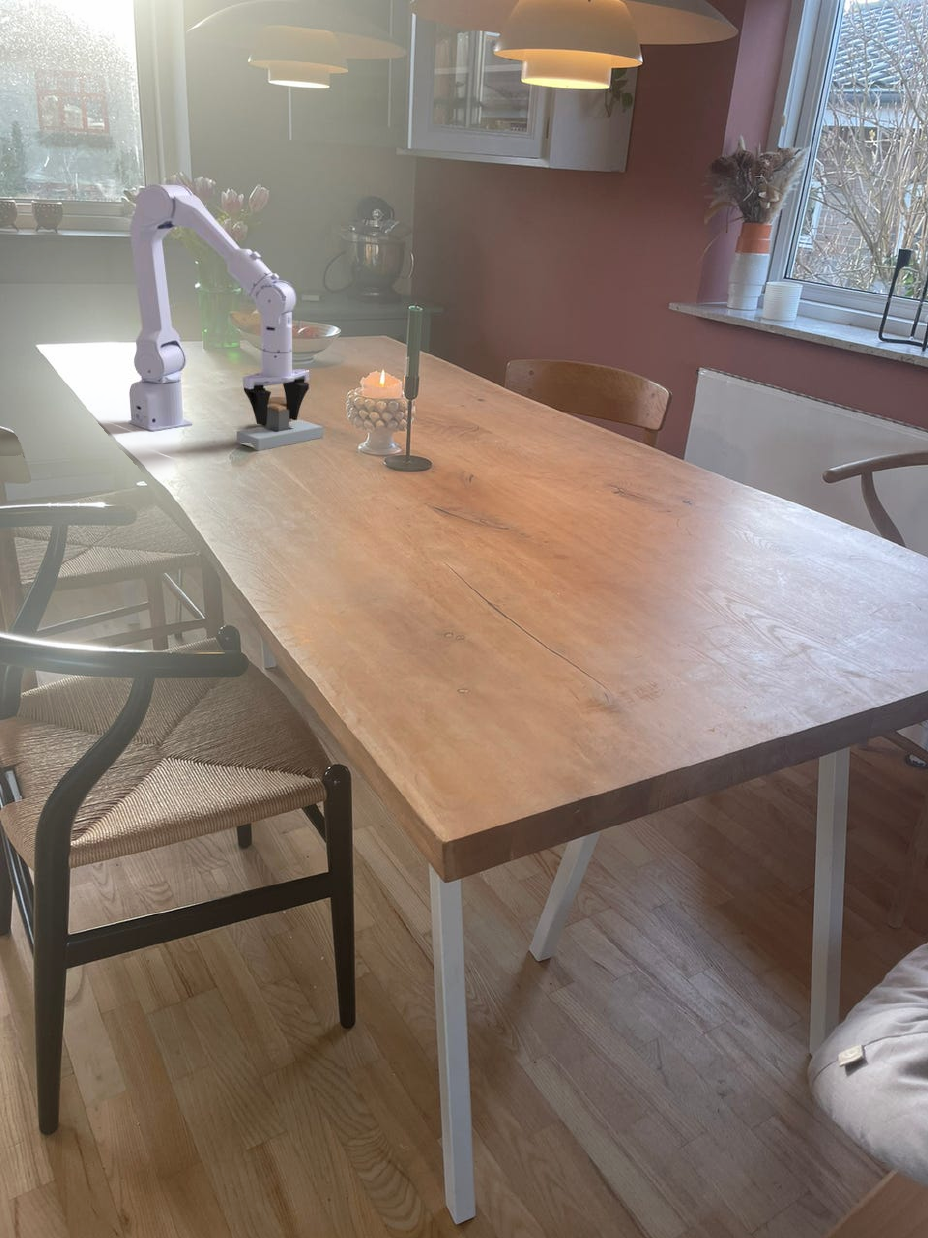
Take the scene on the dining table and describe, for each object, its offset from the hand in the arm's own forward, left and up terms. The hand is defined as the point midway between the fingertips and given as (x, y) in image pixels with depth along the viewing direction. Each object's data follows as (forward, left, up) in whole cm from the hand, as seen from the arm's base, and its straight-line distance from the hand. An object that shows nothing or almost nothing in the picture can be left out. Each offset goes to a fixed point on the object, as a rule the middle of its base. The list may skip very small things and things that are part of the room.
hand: (277, 421), depth 183 cm
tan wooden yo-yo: (+7, +7, -3) cm, 11 cm away
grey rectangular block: (0, 0, -3) cm, 3 cm away
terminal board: (0, -1, -3) cm, 3 cm away
